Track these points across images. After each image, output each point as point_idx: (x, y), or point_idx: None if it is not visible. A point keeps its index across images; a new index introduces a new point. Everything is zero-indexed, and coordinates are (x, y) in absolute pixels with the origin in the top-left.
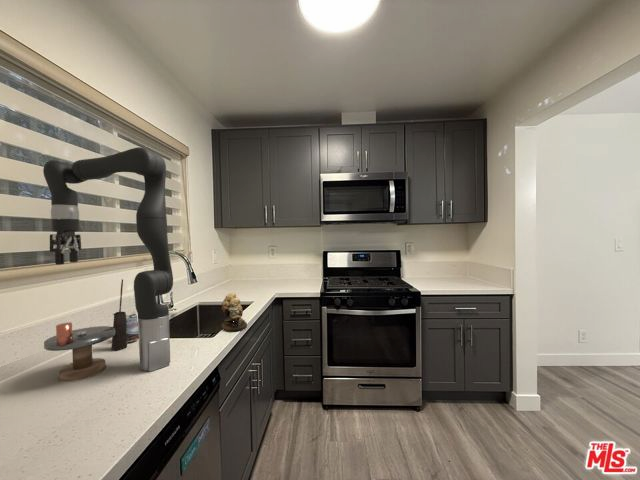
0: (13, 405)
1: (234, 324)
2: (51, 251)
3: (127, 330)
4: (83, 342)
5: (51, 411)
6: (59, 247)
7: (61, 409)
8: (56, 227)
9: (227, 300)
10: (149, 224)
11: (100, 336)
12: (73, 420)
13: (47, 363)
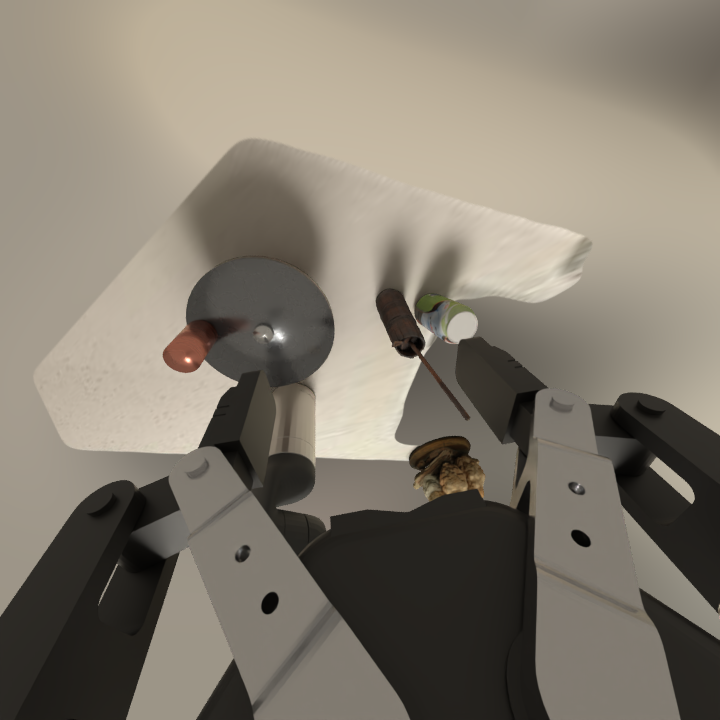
0: (149, 258)
1: (420, 465)
2: (104, 500)
3: (424, 319)
4: (213, 366)
5: (145, 336)
6: (137, 594)
7: (152, 346)
8: None
9: None
10: None
11: None
12: (132, 378)
13: (335, 172)
